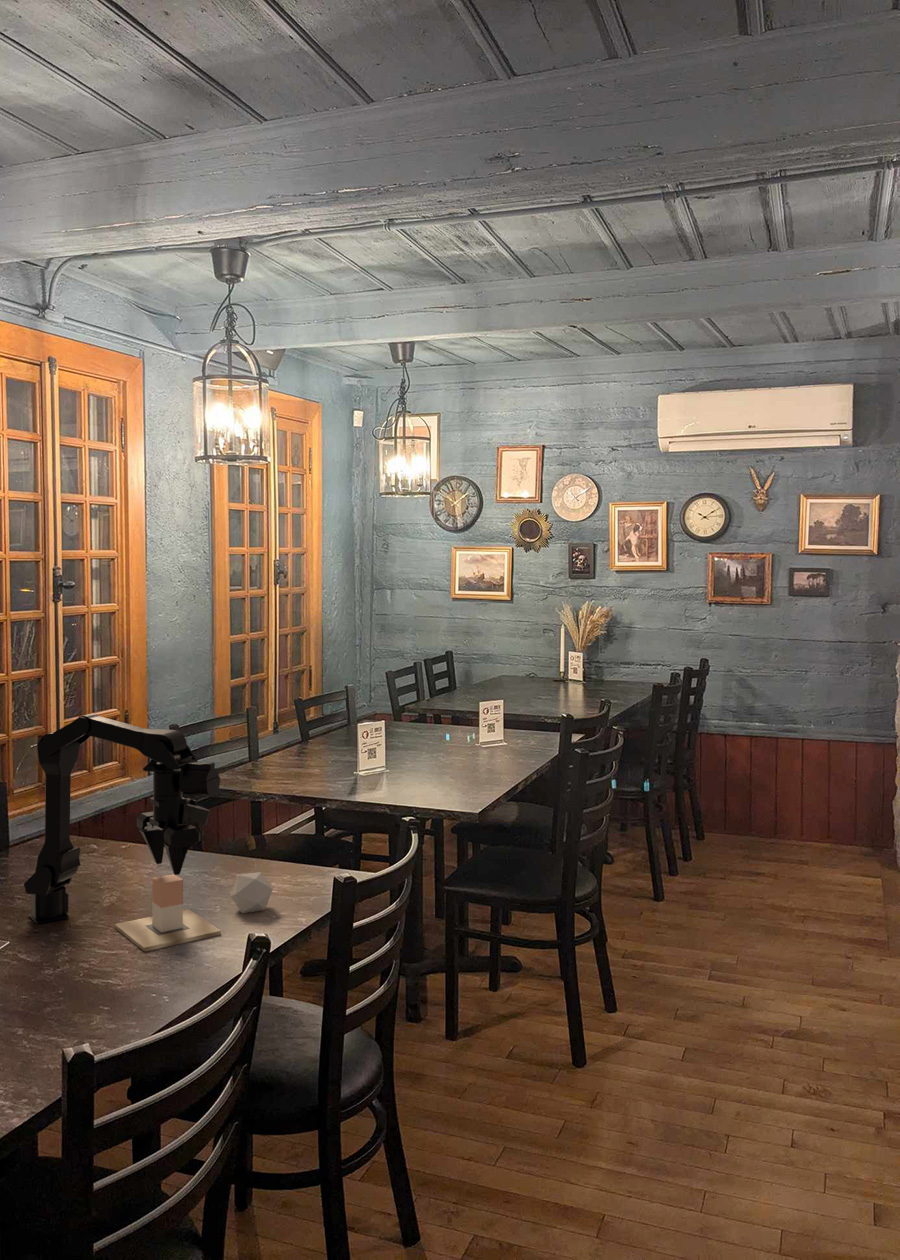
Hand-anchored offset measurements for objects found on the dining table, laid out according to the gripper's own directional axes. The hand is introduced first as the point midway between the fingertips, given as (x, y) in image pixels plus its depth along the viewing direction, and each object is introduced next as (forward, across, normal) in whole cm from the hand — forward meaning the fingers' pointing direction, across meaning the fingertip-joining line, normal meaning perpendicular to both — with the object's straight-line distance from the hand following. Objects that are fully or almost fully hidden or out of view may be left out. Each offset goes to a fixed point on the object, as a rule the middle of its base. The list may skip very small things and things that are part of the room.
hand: (167, 869), depth 206 cm
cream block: (+12, 0, 0) cm, 12 cm away
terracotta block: (+7, 0, 0) cm, 7 cm away
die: (+13, +2, -20) cm, 24 cm away
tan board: (+13, 0, 0) cm, 13 cm away
